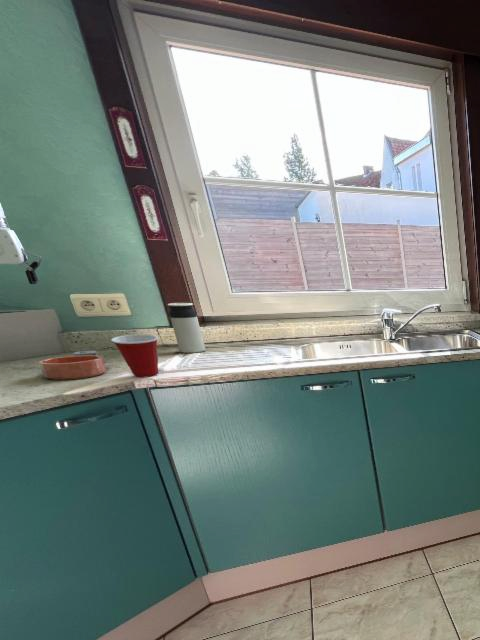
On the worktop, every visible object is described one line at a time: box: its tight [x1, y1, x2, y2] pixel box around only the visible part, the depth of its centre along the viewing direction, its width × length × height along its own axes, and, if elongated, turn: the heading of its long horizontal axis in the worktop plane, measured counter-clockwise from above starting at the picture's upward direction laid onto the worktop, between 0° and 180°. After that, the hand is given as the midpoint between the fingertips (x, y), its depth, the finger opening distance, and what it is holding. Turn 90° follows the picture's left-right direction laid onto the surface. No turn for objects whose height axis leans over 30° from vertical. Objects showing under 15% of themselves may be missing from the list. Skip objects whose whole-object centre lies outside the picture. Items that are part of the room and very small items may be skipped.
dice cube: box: [73, 350, 99, 356], centre depth 161 cm, size 5×5×5 cm
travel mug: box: [167, 302, 207, 354], centre depth 188 cm, size 8×8×18 cm
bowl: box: [38, 355, 107, 381], centre depth 151 cm, size 14×14×5 cm
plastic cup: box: [110, 334, 159, 378], centre depth 153 cm, size 11×11×12 cm
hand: (11, 283), depth 154 cm, fingers open, 9 cm apart
